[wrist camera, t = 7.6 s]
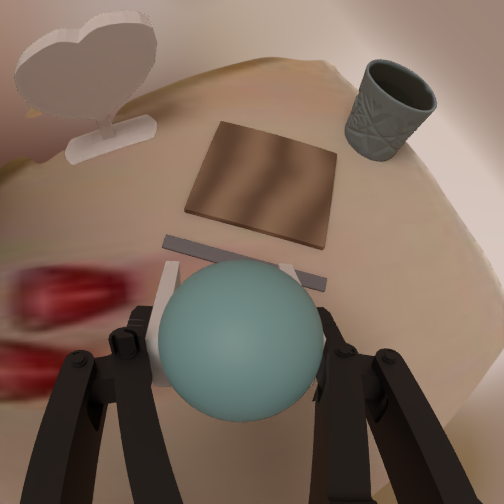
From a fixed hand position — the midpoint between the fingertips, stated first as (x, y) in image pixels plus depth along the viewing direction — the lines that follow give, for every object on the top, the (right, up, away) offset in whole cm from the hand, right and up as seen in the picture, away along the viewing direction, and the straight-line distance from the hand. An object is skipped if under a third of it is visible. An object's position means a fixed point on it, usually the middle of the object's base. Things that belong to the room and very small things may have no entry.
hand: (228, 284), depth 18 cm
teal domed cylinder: (-1, -5, +3) cm, 6 cm away
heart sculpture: (-18, +17, +20) cm, 32 cm away
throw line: (+1, +1, +16) cm, 16 cm away
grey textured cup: (+19, +19, +25) cm, 37 cm away
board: (+3, +10, +20) cm, 23 cm away
